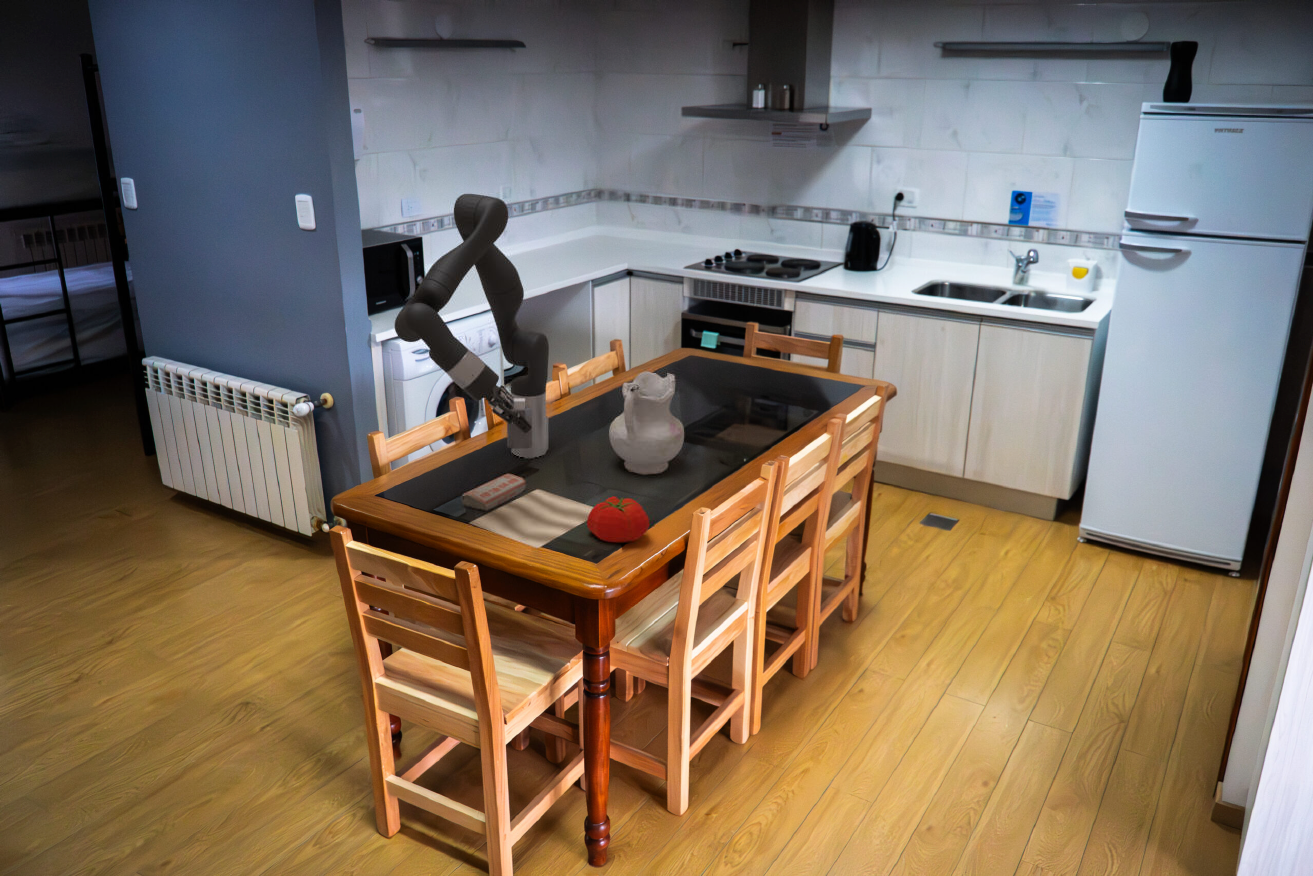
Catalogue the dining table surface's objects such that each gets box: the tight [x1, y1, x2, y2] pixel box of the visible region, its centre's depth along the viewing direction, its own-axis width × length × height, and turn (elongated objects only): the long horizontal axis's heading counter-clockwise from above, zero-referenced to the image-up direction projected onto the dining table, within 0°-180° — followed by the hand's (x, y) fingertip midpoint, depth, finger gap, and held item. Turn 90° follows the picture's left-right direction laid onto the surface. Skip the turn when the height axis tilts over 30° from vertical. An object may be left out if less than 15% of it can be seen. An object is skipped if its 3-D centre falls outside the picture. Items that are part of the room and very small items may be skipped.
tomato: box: [586, 496, 650, 544], centre depth 223 cm, size 14×13×9 cm
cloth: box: [468, 488, 595, 549], centre depth 230 cm, size 24×20×1 cm
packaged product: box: [460, 473, 528, 512], centre depth 238 cm, size 18×5×10 cm
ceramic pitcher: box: [608, 370, 685, 476], centre depth 258 cm, size 22×20×25 cm
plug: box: [506, 398, 532, 449], centre depth 224 cm, size 3×6×11 cm, turn 96°
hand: (528, 427), depth 225 cm, fingers closed on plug, 3 cm apart
